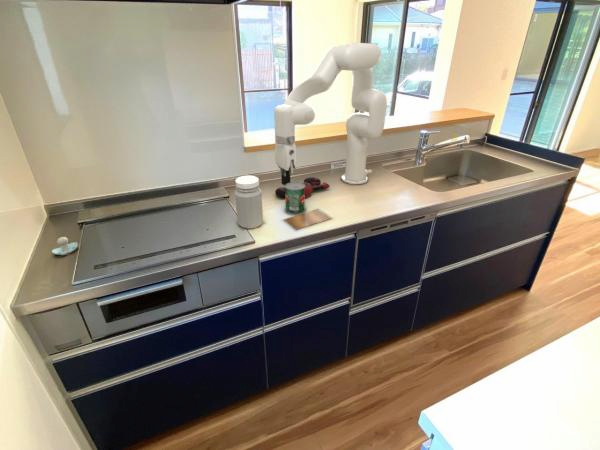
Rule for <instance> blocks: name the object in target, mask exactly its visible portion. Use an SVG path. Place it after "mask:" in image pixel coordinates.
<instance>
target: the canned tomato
mask: <svg viewBox="0 0 600 450" xmlns="http://www.w3.org/2000/svg"><path fill="white" fill-rule="evenodd" d="M284 187H285V198H284V200H285V213H287V214H288V215H292V216H297V215H300V214H304V213H305V211H306V207H305V206H306V204H305V203H306V199H305V198H306V197H305V185H304V184H303V182H300V181H290V183H287V184H286V185H284Z"/></svg>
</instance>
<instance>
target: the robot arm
mask: <svg viewBox="0 0 600 450" xmlns="http://www.w3.org/2000/svg"><path fill="white" fill-rule="evenodd" d="M381 59H382V49H381V47H380V46H379V45H378V44H376V43H370V42H369V43H368V42H349V43H346V44H343V45H342V44H335V45H332V46H331V47H329V48H328V49H327V51H326V52H325V53H324V55H323V56H322V58H321V60H320V61H319V63H318V64H317V66H316V68H315V69H314V71H313V72H312V74H311V75H309V77H307V78H306V79H304V80H303V81H301V82H300V83H299V84H298V85H296V86H294V88H293V89H292V90H291V92H290V93H289V94H288V96H287V97H286V99H285V100H284V102H283V104H280V105H276V106H275V107H274V110H273V113H274V114H273V115H274V116H273V117H274V139H275V140H274V144H275V149H274V158H275V164H276V166H277V167H278V168H279V170H280V175H281V179H280V180H281V185H283V186H285V185H286V184H287V183H290V182H291V175H293V174H295V173H294V172H295V171H294V170H297V169H298V153H297V146H296V126H302V125H303V126H304V125H305V126H306V125H310V124H311V123H312V122H314V120H315V118H316V110H315V108H314V107H313V106H312V105H310V104H308V103H305V101H307V100H308V99H309V98H311V97H314V96H316V95H320V94H322V93H325V92H327V91H329V90H330V88H332V86H333V84H334V82H335V81H336V79H337V78H338V76H339V75H340V73H341V72H342V71H348V72H349V71H350V72H351V74H352V86H351V87H352V88H351V100H350V101H351V107H352V108H353V109H354V110H357V111H360V112H355V113H351V114H350V115H349V116H348V117H347V119H346V123H345V128H346V129H345V130H346V137H347V138H346V153H345V154H346V155H345V156H346V157H345V170H344V174H342V176H341V181H342V182H343V183H345V184H349V185H362V184H363V185H364V184H366V183H367V182H368V180H369V178H368V176H367V175H370V174H373V170H372V169H367V168H366V167H367V165H366V164H367V156H368V147H369V144H368V139H369V140H377V139H379V138H380V137H381V136H382V135H383V132H384V128H385V124H386V123H385V121H386V114H387V108H388V107H387V105H388V99H387V95H386V93H385V92H384V91H383V90H380V89H377V88H373V87H374V85H373V84H374V72H373V68H375V67H376V66H377V65H379V63H380V61H381ZM362 112H364V113H362ZM365 113H368V114H365Z"/></svg>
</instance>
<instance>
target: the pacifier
mask: <svg viewBox="0 0 600 450" xmlns="http://www.w3.org/2000/svg"><path fill="white" fill-rule="evenodd" d="M68 242H69V239H68V238H67V237H66V236H61V237H59V238H58V239H57V240H56V243H57V245H58V246H60V247H57V248H54V249H52V250H51V252H52V253H53V254H54V255H56V256H57V255H58V256H67V255H69V254H72V253H73V252H74V251H75V250H76V249H77V248H78V245H79V244H78V242H77V241H74V242H70V243H68Z"/></svg>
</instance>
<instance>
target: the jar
mask: <svg viewBox="0 0 600 450" xmlns="http://www.w3.org/2000/svg"><path fill="white" fill-rule="evenodd" d="M259 180H260V179H259V177H258V176H255V175H250V174H249V175H242V176H241V175H240V176H238V177H237V178H236V179H235V190H234V198H235V199H234V200H235V208H236V219H237V225H239V226H240V227H241V228H242V229H247V230H253V229H256V228H259V227H260V226H261V225H262V224H263V223H264V211H263V196H262V195H263V194H262V189H261V188H260V181H259Z"/></svg>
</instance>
